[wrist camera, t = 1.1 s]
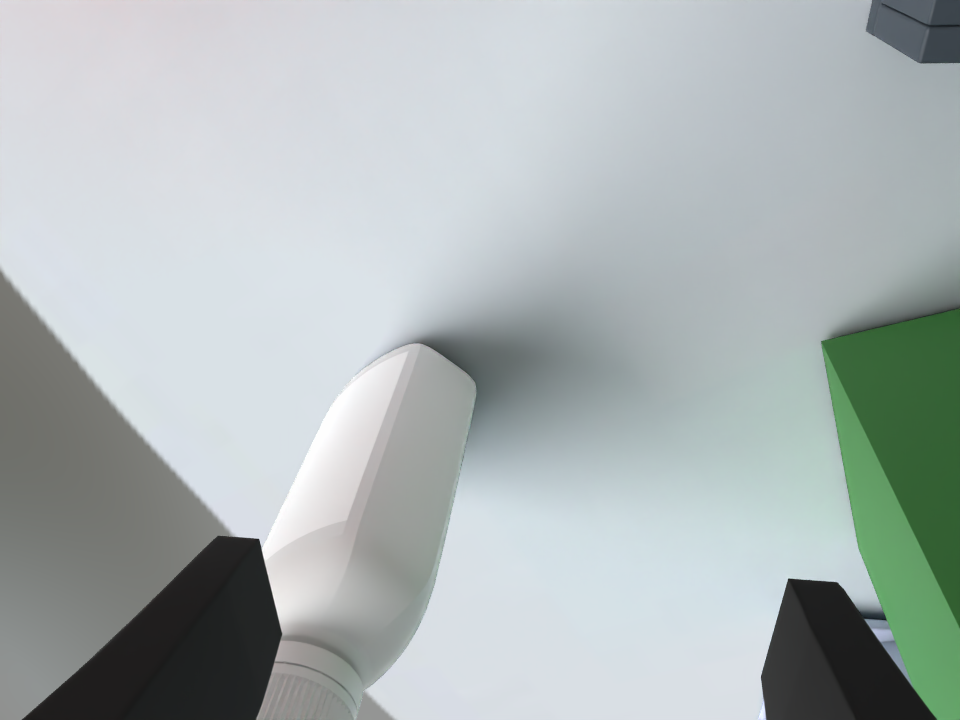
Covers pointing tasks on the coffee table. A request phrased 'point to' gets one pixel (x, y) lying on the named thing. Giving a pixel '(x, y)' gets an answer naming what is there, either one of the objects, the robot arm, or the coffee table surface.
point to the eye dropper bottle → (365, 532)
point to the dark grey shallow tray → (918, 28)
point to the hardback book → (907, 486)
